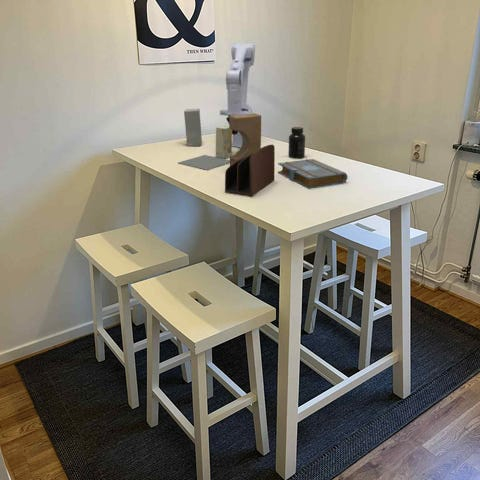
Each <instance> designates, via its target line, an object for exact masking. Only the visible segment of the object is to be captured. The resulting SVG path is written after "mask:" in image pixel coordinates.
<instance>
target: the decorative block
mask: <svg viewBox="0 0 480 480" xmlns="http://www.w3.org/2000/svg"><path fill="white" fill-rule="evenodd" d="M228 127H229V128H230V129H232V130H235V131H238V132H239V133H240V134H241V136H242V146H241V148H240V147H239V149H238V150H237V152H236V153H233V154H231V156H230V157H229V160H230V163H229V166H231V165H232V164H233V163H235V162H237V161H238V160H240V159H243V158H246V157H247V156H249V155H251V154H253V153H255V152H256V151H257V150H259V149H260V148H262V115H260V114H257V113H253V112H252V114H241V115H231V116H229V123H228Z"/></svg>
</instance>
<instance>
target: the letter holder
mask: <svg viewBox="0 0 480 480" xmlns="http://www.w3.org/2000/svg"><path fill="white" fill-rule="evenodd" d="M275 153H276V152H275V145H274V144H267V145H264V146H263V147H262V146H261V148H260V149H259V150H257V151H256V152H255V153H253V154H251V155H249V156H247V157H246V158H243V159H240V160H238V161H237V162H235V163H233V164H232V165H231V166H230V165H229V166H228V167H227V168H226V170H225V172H224V178H225V179H224V182H225V183H224V193H225V194H226V193H227V194H232V195H238V196H245V197H251V198H252V197H253V196H255V195H256V194H257V193H258V192H260V191H261V190H263V189H264V188H266V187H267V186H268V185H270V184H271V183H273V182H275V169H276V168H275V161H276V159H275V158H276V157H275V156H276V155H275Z"/></svg>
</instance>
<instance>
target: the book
mask: <svg viewBox="0 0 480 480" xmlns="http://www.w3.org/2000/svg"><path fill="white" fill-rule="evenodd" d="M277 164H278V166H281V168H282V169H281V170H279V171H277V174H279V175H281V176H282V177H285V178H287V179H289V180H290V181H292V182H294V183H297V184H298V185H300V186H302V187H304V188H305V189H315V188H322V187H329V186H335V185H341V184H346V182H347V180H348V179H349V178H348V175H347V173H346V172H344V171H342V170H340V169H338V168H335V167H333V166H331V165H328V164H326V163H323V162H321V161H318V160H317V159H314V158H309V159H307V158H306V159H301V160H295V161H294V160H293V161H285V162H277Z"/></svg>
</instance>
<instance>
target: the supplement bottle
mask: <svg viewBox="0 0 480 480" xmlns="http://www.w3.org/2000/svg"><path fill="white" fill-rule="evenodd" d="M305 154H306V135H305V134H304V128H303V127H301V126H294V127H291V133H290V134H289V136H288V157H289V158H291V159H303V158H304V157H305V156H306V155H305Z"/></svg>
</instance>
